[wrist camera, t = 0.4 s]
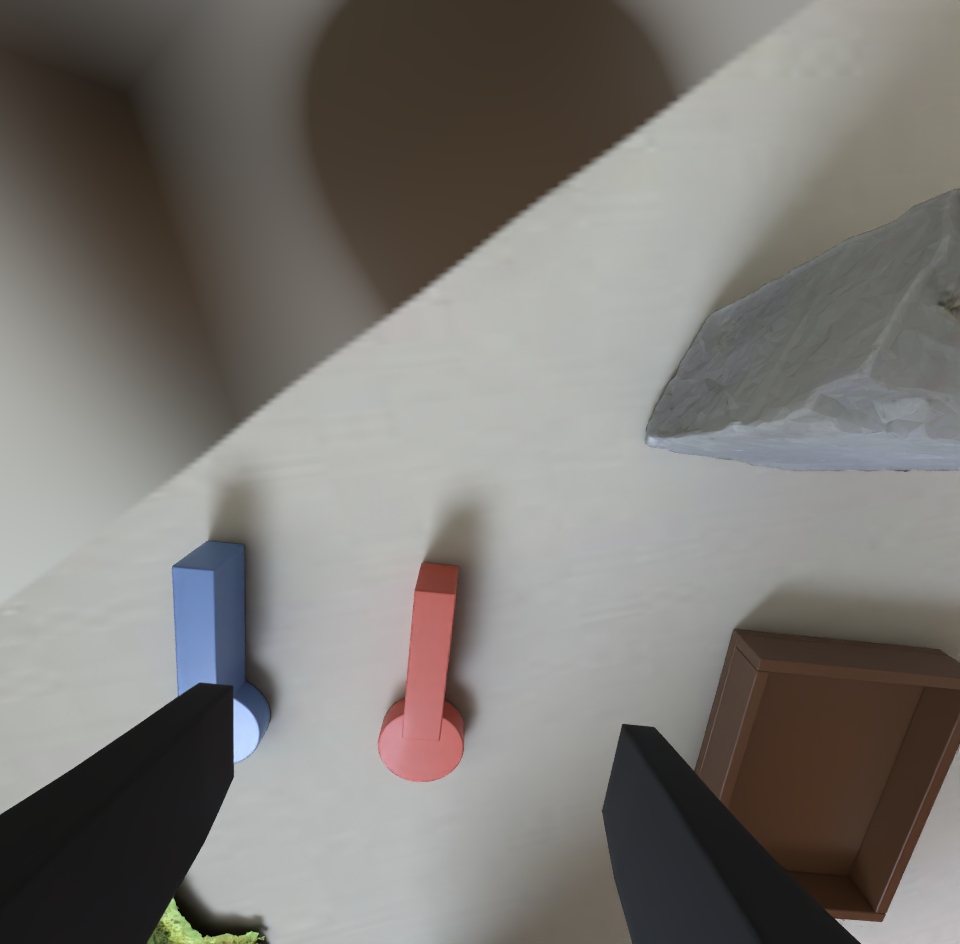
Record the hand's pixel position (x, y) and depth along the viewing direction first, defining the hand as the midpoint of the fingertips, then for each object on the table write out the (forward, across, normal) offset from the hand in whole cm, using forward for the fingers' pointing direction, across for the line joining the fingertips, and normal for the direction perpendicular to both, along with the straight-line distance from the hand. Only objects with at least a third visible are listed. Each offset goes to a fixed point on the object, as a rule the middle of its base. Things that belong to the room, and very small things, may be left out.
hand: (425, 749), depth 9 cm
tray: (+10, -16, +8) cm, 20 cm away
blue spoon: (+10, +8, +5) cm, 14 cm away
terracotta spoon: (+10, 0, +5) cm, 11 cm away
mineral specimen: (+10, -10, -8) cm, 16 cm away
